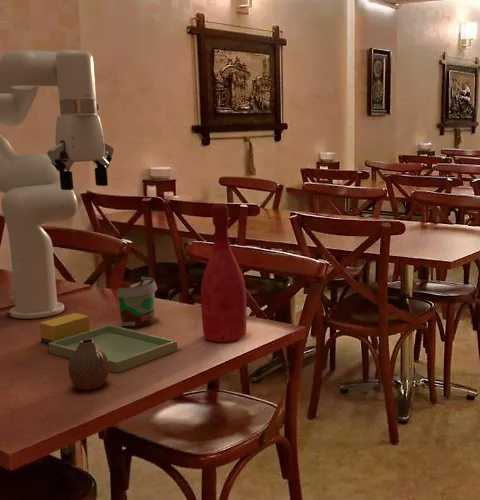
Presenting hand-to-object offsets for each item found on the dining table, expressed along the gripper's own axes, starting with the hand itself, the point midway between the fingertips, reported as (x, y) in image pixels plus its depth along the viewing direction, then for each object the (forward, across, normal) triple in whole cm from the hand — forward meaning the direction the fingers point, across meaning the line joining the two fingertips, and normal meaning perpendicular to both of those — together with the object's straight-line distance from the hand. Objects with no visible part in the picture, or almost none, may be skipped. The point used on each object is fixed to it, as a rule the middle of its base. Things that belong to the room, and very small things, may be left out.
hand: (85, 187), depth 156 cm
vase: (+34, +25, +25) cm, 49 cm away
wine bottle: (+34, -10, +29) cm, 45 cm away
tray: (+33, +9, +14) cm, 37 cm away
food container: (+33, -9, +6) cm, 35 cm away
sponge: (+33, +7, -2) cm, 34 cm away
